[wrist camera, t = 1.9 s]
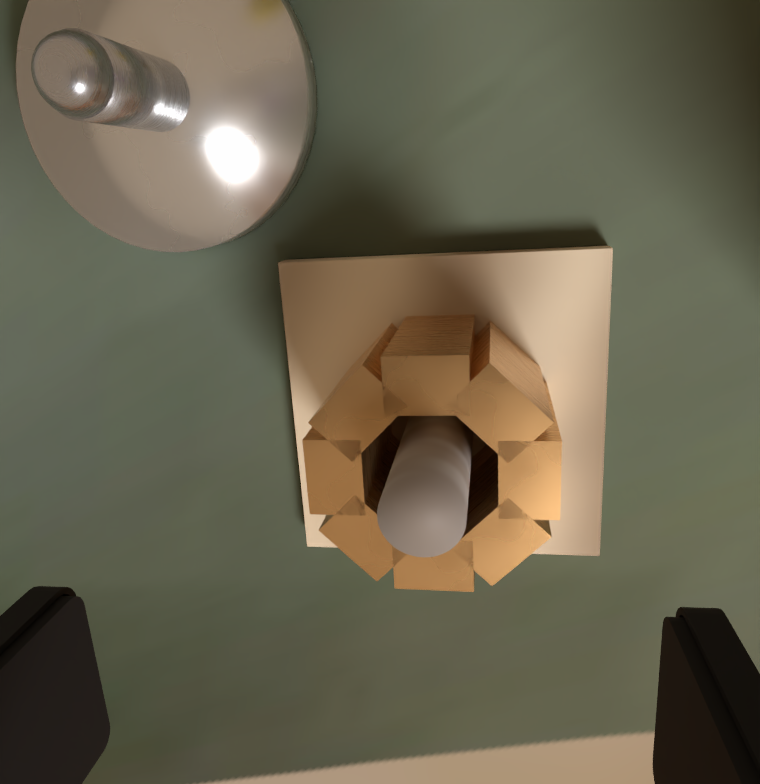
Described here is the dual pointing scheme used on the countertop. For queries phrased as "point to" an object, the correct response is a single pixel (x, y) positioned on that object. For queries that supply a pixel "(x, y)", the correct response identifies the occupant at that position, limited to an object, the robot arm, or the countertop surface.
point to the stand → (488, 302)
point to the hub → (168, 113)
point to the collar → (439, 398)
